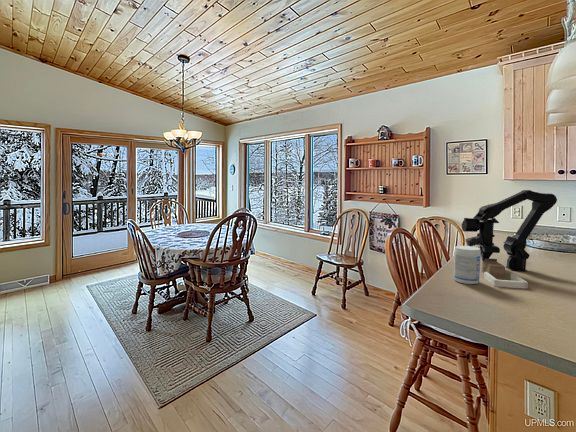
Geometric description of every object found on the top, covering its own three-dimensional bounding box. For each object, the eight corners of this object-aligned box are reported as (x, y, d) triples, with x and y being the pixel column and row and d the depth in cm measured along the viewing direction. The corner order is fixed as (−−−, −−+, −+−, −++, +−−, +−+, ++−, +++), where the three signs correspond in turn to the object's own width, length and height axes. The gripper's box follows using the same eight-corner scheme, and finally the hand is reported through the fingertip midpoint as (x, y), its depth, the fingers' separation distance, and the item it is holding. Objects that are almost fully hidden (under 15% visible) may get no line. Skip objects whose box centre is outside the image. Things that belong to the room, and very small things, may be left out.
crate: (482, 271, 142) (482, 257, 142) (496, 272, 141) (497, 258, 140) (489, 277, 134) (490, 262, 133) (504, 278, 132) (505, 263, 131)
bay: (483, 277, 133) (484, 271, 132) (513, 279, 129) (513, 273, 129) (494, 286, 121) (495, 280, 121) (527, 288, 118) (528, 282, 118)
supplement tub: (482, 286, 121) (484, 250, 120) (456, 283, 124) (458, 249, 123) (475, 278, 131) (477, 246, 129) (451, 277, 133) (452, 244, 132)
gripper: (462, 228, 156) (460, 257, 158) (473, 234, 138) (471, 267, 140) (486, 229, 153) (484, 258, 155) (501, 235, 135) (499, 268, 137)
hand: (484, 263), depth 147 cm, fingers closed
